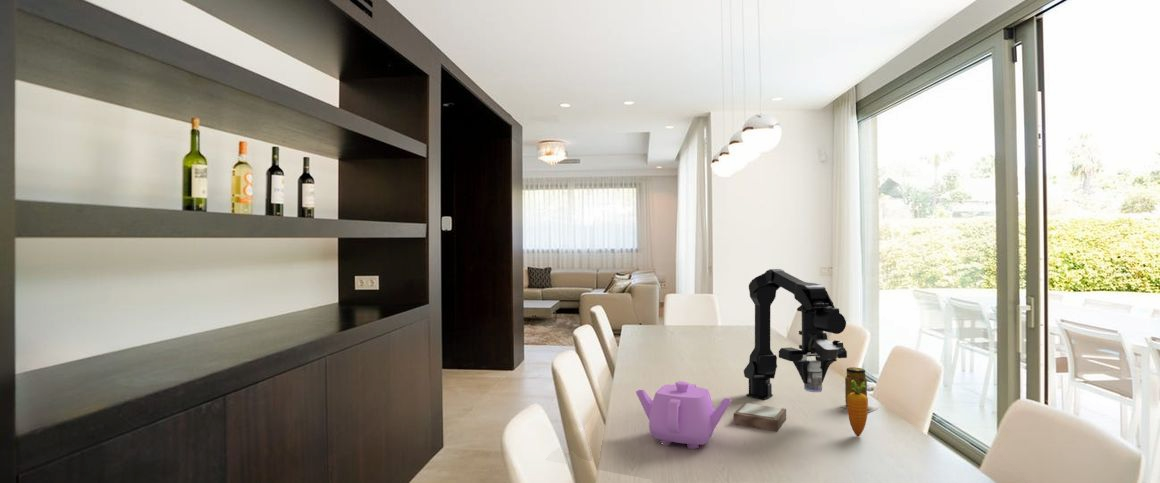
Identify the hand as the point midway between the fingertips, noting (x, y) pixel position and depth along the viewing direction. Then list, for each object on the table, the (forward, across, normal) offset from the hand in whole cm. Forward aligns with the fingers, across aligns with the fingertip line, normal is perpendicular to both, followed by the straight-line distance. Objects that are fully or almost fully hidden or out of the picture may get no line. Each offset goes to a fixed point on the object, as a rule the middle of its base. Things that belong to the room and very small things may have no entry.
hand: (813, 383), depth 153 cm
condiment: (+12, +23, +9) cm, 27 cm away
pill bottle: (+2, 0, 0) cm, 2 cm away
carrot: (+12, +4, -13) cm, 18 cm away
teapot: (+12, -42, -3) cm, 44 cm away
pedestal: (+11, -14, +5) cm, 19 cm away
